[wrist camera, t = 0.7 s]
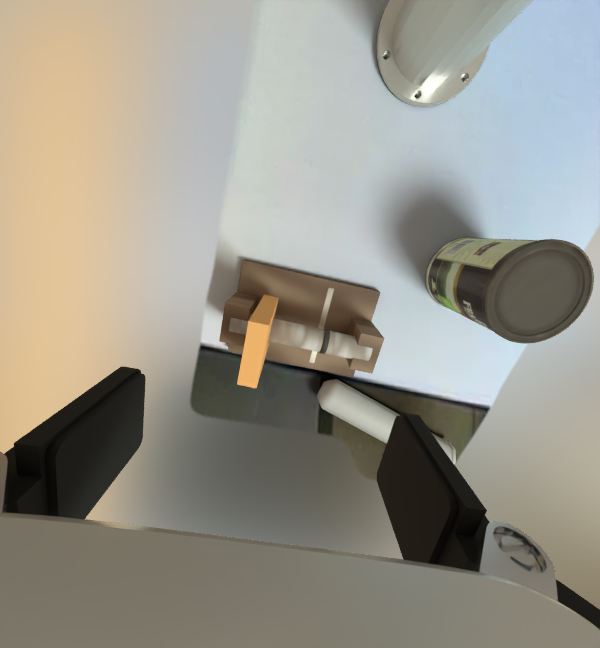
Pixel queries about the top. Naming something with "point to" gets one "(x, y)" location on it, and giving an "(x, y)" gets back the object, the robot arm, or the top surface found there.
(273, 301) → the orange flat block
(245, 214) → the top surface
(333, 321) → the pipe stand
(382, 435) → the tube
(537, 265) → the coffee can
